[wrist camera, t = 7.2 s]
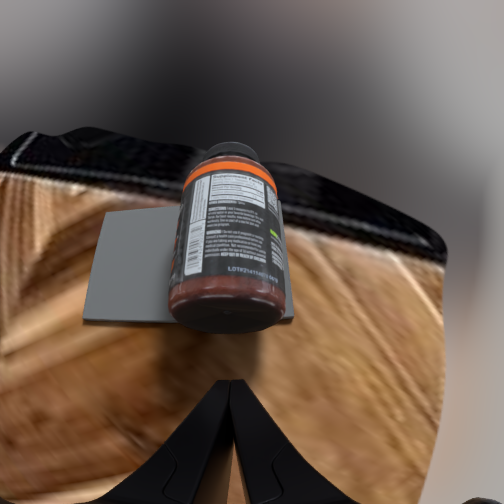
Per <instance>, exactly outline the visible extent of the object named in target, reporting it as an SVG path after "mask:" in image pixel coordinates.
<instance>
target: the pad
mask: <svg viewBox="0 0 504 504" xmlns="http://www.w3.org/2000/svg"><path fill="white" fill-rule="evenodd" d="M278 209H279V219H280V230H281V241H282V254H283V266H284V279H285V293H286V299H285V303H286V311H285V314H284V316H283V318H282V319H288V318H294V310H293V300H292V291H291V283H290V274H289V266H288V258H287V250H286V242H285V234H284V226H283V219H282V212H281V204H280V201H278ZM179 211H180V206H171V207H159V208H147V209H136V210H126V211H116V212H107V213H106V215H105V218H104V222H103V225H102V229H101V233H100V236H99V240H98V244H97V248H96V252H95V256H94V261H93V265H92V270H91V274H90V279H89V284H88V289H87V294H86V300H85V305H84V311H83V319H84V320H92V321H115V322H167V323H176V322H177V321H176V320H175V319H174V318H173V317H172V316H171V314H170V313H169V309H168V299H169V296H168V292H169V282H170V276H171V268H172V260H173V252H174V245H175V238H176V231H177V224H178V217H179Z"/></svg>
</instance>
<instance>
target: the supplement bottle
mask: <svg viewBox="0 0 504 504" xmlns="http://www.w3.org/2000/svg"><path fill="white" fill-rule="evenodd" d="M168 296H169V299H168V309H169V313H170V314H171V316H172V317H173V318H174V319H175V320H176V321H177V322H179V323H180V324H182V325H184V326H186V327H188V328H191V329H194V330H198V331H203V332H207V333H217V334H239V333H248V332H255V331H261V330H264V329H266V328H268V327H270V326H272V325H274V324H276V323H277V322H278V321H279V320H281V319H282V318H283V316H284V314H285V311H286V303H285V299H286V293H285V279H284V266H283V254H282V241H281V230H280V219H279V209H278V200H277V191H276V186H275V183H274V180H273V178H272V176H271V175H270V173H269V172H268V171H267V170H266V169H265V168H264V167H263V166H261V165H260V163H259V159H258V156H257V154H256V153H255V152H254V151H253V150H252V149H251V148H250V147H248V146H246V145H244V144H241V143H237V142H225V143H221V144H217V145H215V146H214V147H212V148H211V149H209V150H208V151H207V153H206V154H205V156H204V158H203V162H202V163H201V164H199V165H198V166H197V167H195V168H194V169H193V170H192V171H191V172H190V174H189V175H188V177H187V179H186V181H185V184H184V189H183V194H182V198H181V206H180V211H179V217H178V224H177V231H176V238H175V245H174V252H173V260H172V268H171V276H170V282H169V292H168Z"/></svg>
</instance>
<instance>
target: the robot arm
mask: <svg viewBox="0 0 504 504" xmlns="http://www.w3.org/2000/svg"><path fill="white" fill-rule="evenodd" d="M234 444H235V450H236V456H237V461H238V466H239V471H240V476H241V481H242V486H243V491H244V496H245V500H246V504H360V503H358V502H356V501H354V500H353V499H351V498H350V497H348V496H347V495H346V494H344V493H343V492H342V491H341V490H339V489H338V488H337V487H336V486H334V485H333V484H332V483H331V482H330V481H328V480H327V479H326V478H325V477H324V476H322V475H321V474H320V473H319V472H318V471H317V470H316V469H315V468H313V467H312V466H311V465H310V464H309V463H308V462H307V461H306V460H305V459H304V458H303V456H302V455H301V454H300V453H299V452H298V451H297V450H296V448H295V447H294V446H293V445H292V443H291V442H290V441H289V440H288V438H287V437H286V436H285V435H284V433H283V432H282V431H281V429H280V428H279V427H278V425H277V424H276V423H275V421H274V420H273V419H272V417H271V416H270V415H269V413H268V412H267V411H266V409H265V408H264V407H263V405H262V404H261V403H260V401H259V400H258V398H257V397H256V396H255V394H254V393H253V391H252V390H251V389H250V387H249V386H248V384H247V383H246V382H245V380H243V379H239V380H231V382H230V380H218V381H216V382H215V384H214V385H213V386H212V387H211V388H210V390H209V391H208V392H207V393H206V394H205V396H204V397H203V398H202V399H201V400H200V402H199V403H198V404H197V405H196V406H195V408H194V409H193V410H192V411H191V412H190V413H189V415H188V416H187V417H186V418H185V419H184V420H183V422H182V423H181V424H180V425H179V426H178V427H177V428H176V430H175V431H174V432H173V433H172V434H171V435H170V436H169V438H168V439H167V440H166V441H165V442H164V444H162V445H161V446H160V447H159V449H158V450H157V451H156V452H155V453H154V454H153V455H152V456H151V457H150V458H149V459H148V460H147V461H146V462H145V463H144V464H143V465H141V466H140V467H139V468H138V469H137V470H136V471H134V472H133V473H132V474H131V475H129V476H128V477H127V478H126V479H124V480H123V481H122V482H121V483H119V484H118V485H117V486H115V487H114V488H113V489H111V490H110V491H109V492H107V493H106V494H104V495H103V496H101V497H99V498H98V499H95V500H93V501H89V502H85V503H76V504H227V497H228V489H229V481H230V473H231V465H232V457H233V448H234ZM0 504H14V503H11V502H8V501H6V500H4V499H3V498H1V497H0ZM463 504H501V503H500V502H497V501H495V500H492V499H486V498H479V497H477V498H472V499H470V500H468V501H466V502H464V503H463Z"/></svg>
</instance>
